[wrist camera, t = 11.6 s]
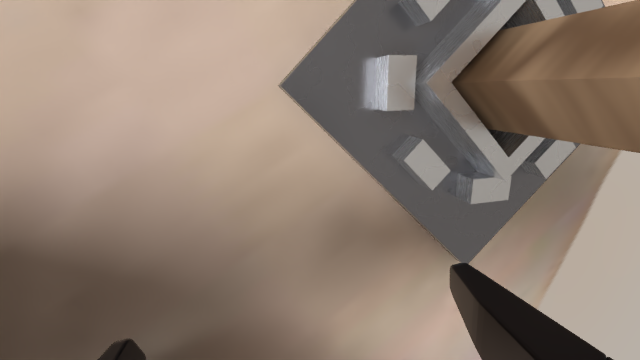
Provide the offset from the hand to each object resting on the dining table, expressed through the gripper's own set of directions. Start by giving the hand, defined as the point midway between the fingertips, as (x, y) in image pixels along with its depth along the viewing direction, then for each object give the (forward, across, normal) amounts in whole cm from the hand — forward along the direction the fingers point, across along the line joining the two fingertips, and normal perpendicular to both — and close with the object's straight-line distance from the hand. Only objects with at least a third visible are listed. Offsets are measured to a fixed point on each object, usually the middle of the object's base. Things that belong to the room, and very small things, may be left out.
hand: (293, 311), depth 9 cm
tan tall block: (+13, -13, 0) cm, 18 cm away
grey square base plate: (+14, -13, 0) cm, 19 cm away
